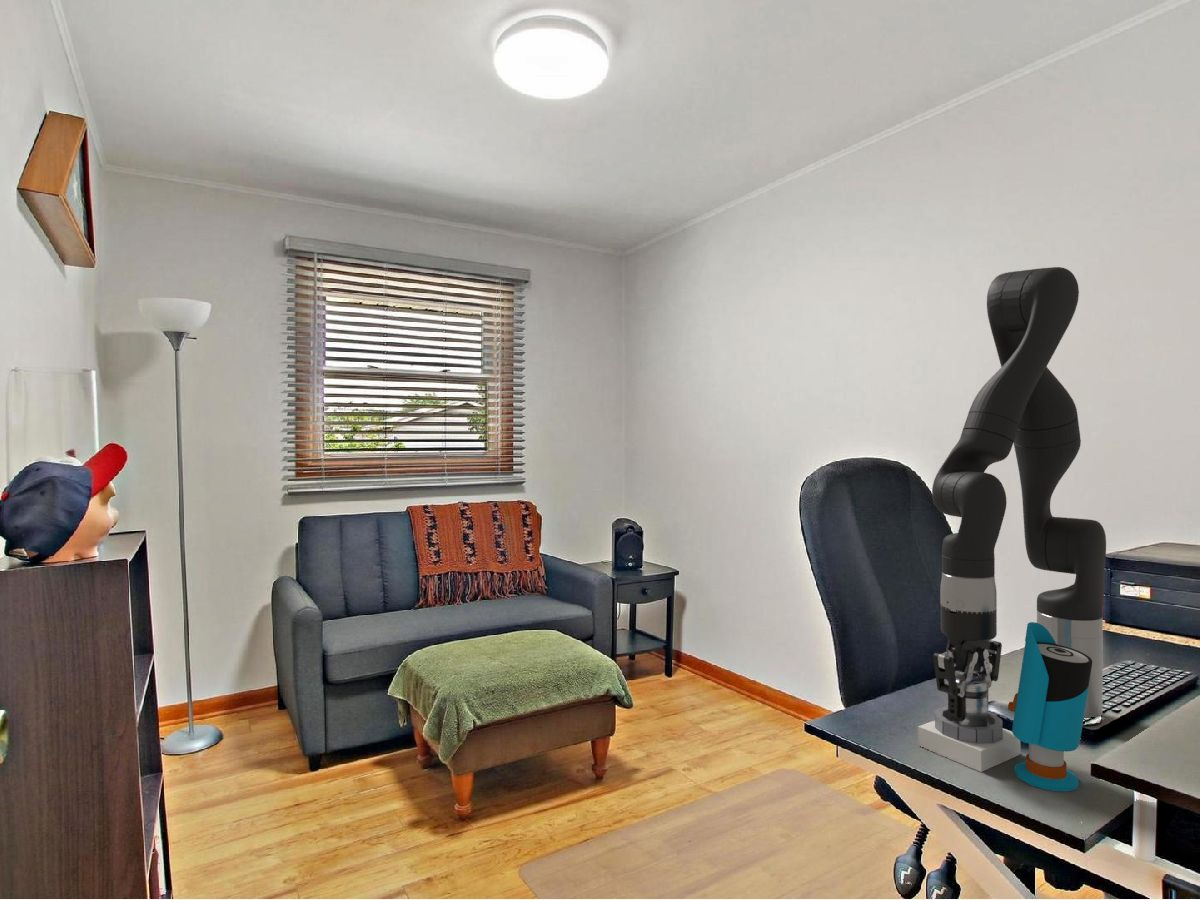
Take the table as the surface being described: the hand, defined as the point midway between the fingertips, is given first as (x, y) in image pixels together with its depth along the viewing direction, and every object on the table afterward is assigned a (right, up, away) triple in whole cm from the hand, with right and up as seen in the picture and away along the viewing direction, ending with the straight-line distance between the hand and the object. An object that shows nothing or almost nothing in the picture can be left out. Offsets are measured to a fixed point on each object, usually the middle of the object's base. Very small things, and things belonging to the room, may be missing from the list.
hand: (968, 714), depth 108 cm
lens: (0, -2, 0) cm, 2 cm away
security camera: (+7, -6, -9) cm, 12 cm away
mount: (0, -5, 0) cm, 5 cm away
